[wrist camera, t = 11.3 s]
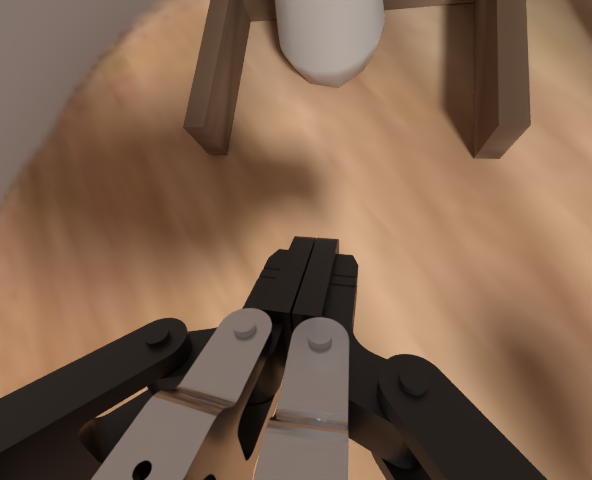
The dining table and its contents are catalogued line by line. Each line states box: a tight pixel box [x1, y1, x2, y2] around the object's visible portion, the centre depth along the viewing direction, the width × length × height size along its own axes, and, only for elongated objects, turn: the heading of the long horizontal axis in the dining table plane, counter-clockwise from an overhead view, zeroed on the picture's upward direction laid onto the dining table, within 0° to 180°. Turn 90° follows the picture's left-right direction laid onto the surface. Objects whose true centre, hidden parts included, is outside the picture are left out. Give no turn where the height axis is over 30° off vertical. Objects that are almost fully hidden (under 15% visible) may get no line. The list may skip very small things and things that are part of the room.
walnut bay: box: [183, 0, 531, 159], centre depth 16 cm, size 18×11×6 cm, turn 83°
